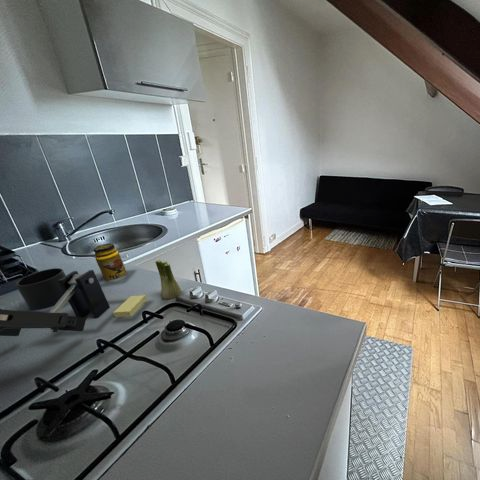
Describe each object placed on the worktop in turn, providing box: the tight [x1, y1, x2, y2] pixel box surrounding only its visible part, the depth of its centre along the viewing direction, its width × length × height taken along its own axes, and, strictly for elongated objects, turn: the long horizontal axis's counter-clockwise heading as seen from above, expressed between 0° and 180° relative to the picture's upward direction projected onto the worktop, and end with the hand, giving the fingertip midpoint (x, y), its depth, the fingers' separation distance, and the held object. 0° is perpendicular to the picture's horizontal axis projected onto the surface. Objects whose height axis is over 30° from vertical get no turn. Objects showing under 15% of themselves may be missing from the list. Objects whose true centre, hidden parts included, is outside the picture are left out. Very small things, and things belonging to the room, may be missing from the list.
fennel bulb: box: [155, 259, 182, 301], centre depth 71 cm, size 6×5×12 cm
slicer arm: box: [48, 273, 84, 313], centre depth 60 cm, size 12×6×2 cm, turn 3°
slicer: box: [58, 269, 111, 319], centre depth 65 cm, size 12×9×13 cm
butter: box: [112, 294, 148, 318], centre depth 68 cm, size 7×4×3 cm, turn 2°
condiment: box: [92, 243, 128, 281], centre depth 84 cm, size 7×8×12 cm
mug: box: [15, 267, 67, 311], centre depth 74 cm, size 9×12×9 cm
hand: (51, 327), depth 56 cm, fingers open, 13 cm apart
